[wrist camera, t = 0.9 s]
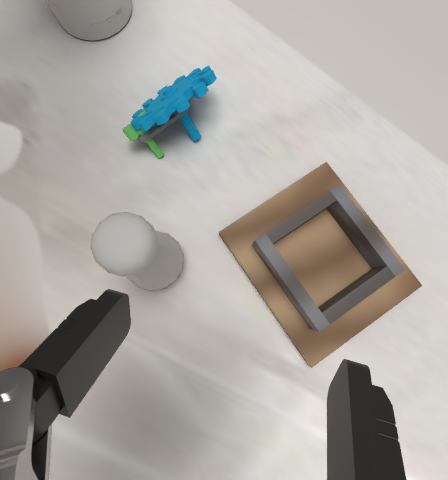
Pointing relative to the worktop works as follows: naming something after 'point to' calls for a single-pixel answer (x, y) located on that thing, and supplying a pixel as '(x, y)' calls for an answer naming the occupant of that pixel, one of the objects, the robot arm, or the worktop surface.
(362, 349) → the worktop surface
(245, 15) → the worktop surface
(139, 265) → the salt shaker
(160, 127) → the blue toy brick model
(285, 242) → the socket board
